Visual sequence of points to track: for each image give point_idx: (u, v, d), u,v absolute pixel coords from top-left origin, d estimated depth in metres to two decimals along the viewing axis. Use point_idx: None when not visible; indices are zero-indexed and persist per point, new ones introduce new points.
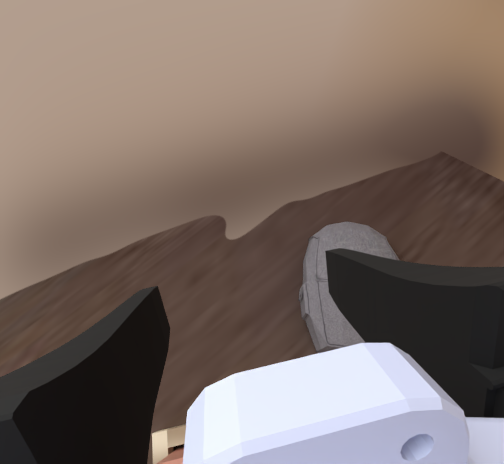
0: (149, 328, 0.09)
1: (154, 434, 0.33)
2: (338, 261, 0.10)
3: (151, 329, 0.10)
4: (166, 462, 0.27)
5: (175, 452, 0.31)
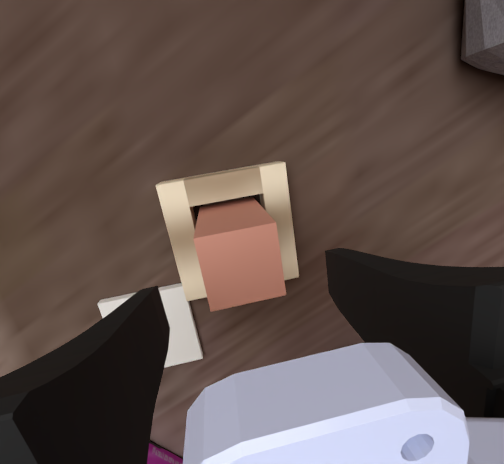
0: (148, 329, 0.09)
1: (160, 186, 0.18)
2: (338, 261, 0.10)
3: (151, 329, 0.10)
4: (216, 235, 0.13)
5: (207, 213, 0.18)
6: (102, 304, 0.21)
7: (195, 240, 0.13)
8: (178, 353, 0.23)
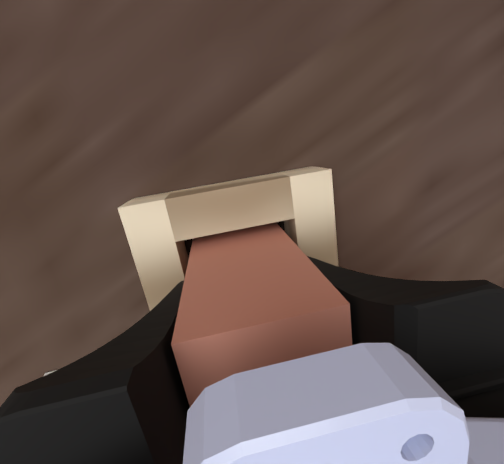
0: None
1: (125, 210, 0.11)
2: None
3: None
4: (223, 334, 0.06)
5: (204, 255, 0.11)
6: None
7: (176, 347, 0.06)
8: None
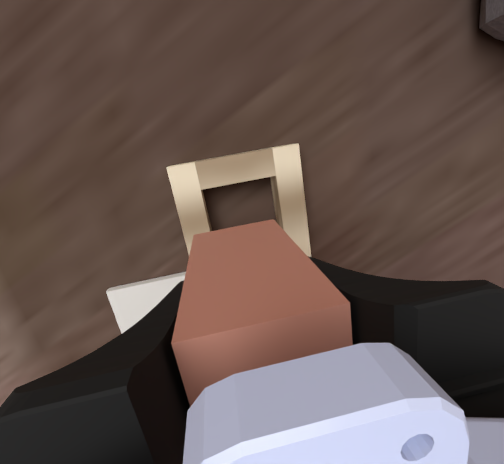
0: None
1: (171, 168, 0.17)
2: None
3: None
4: (223, 332, 0.06)
5: (204, 255, 0.11)
6: (111, 292, 0.21)
7: (176, 346, 0.06)
8: None
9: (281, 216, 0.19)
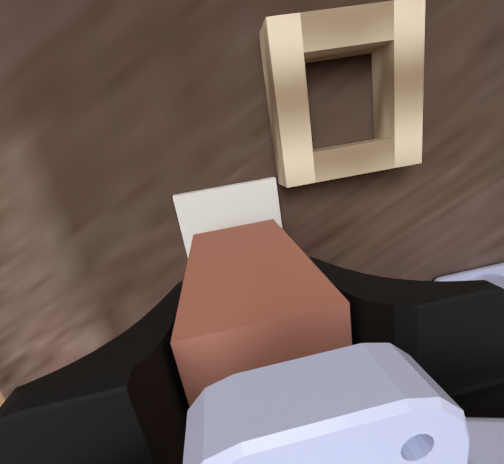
0: None
1: (271, 19, 0.14)
2: None
3: None
4: (222, 332, 0.06)
5: (204, 254, 0.11)
6: (178, 197, 0.17)
7: (175, 346, 0.06)
8: None
9: (392, 98, 0.16)
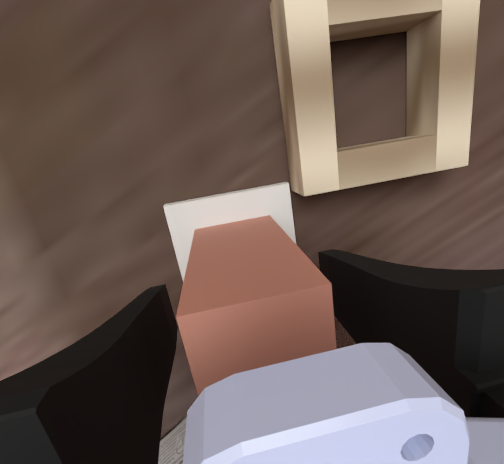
0: (157, 326, 0.09)
1: None
2: (330, 263, 0.10)
3: (160, 327, 0.10)
4: (221, 308, 0.07)
5: (205, 246, 0.11)
6: (170, 207, 0.14)
7: (180, 319, 0.07)
8: None
9: (436, 85, 0.13)
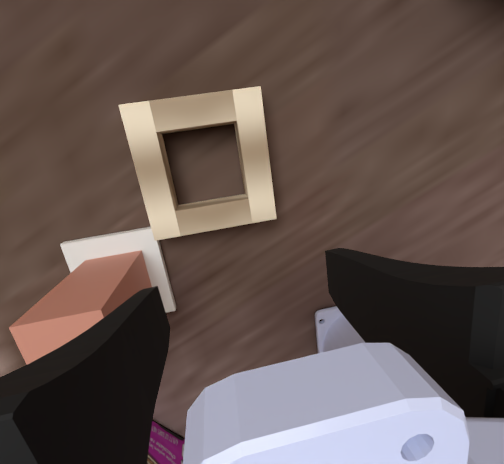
0: (148, 329, 0.09)
1: (123, 106, 0.16)
2: (338, 261, 0.10)
3: (151, 329, 0.10)
4: (36, 323, 0.13)
5: (74, 277, 0.17)
6: (65, 245, 0.20)
7: (11, 329, 0.12)
8: None
9: (243, 166, 0.18)
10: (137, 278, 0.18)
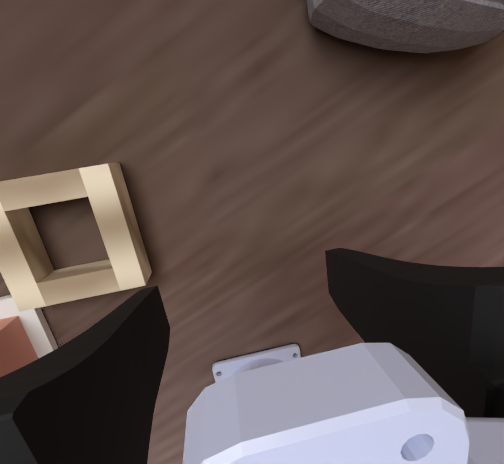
0: (148, 329, 0.09)
1: None
2: (338, 261, 0.10)
3: (151, 329, 0.10)
4: None
5: None
6: None
7: None
8: None
9: (103, 238, 0.18)
10: (1, 350, 0.19)
